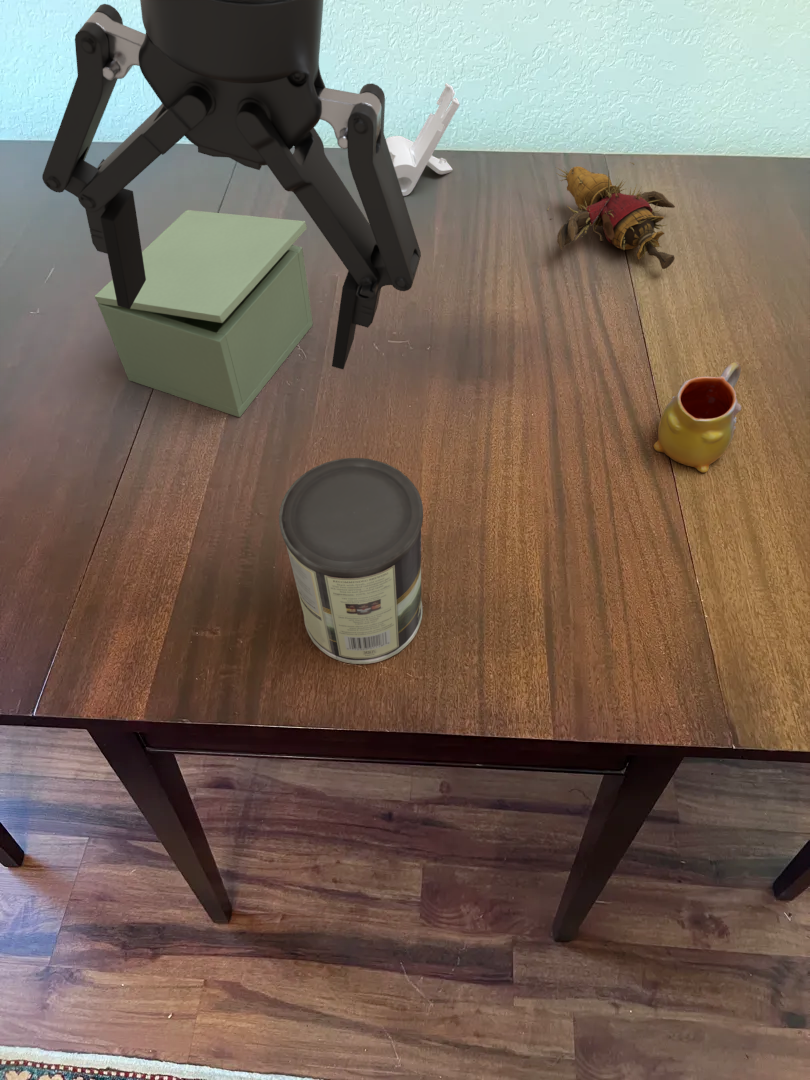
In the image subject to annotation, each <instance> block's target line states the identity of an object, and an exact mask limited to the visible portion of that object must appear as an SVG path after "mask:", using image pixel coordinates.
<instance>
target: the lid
mask: <svg viewBox="0 0 810 1080" xmlns="http://www.w3.org/2000/svg"><path fill="white" fill-rule="evenodd" d="M307 229H308V227H307V223H306V221H305V220H295V219H286V218H276V217H266V216H265V217H264V216H255V215H253V216H252V215H244V214H234V213H224V212H213V211H204V210H203V211H201V210H191V209H186V210H185V211H184V212H182V214H181V215H179V217H178V218H176V219H175V220H174V221H173V222H172V223H170V225H169V226H168V227H167V228H166V229H165V230H164V231H163V232H161V233H160V234H159V235H158V236H157V237H156V238H155V239H154V240H153V241H152V242H151V243H150V244H148V245H147V247H145V249H142V256H143V263H144V269H145V276H146V281H145V283H144V284H143V286H142V288H141V290H140V292H139V293H138V295H137V297H136V299H135V301H134V302H133V304H132V306H131V309H137V310H144V311H150V312H156V313H162V314H169V315H175V316H181V317H187V318H194V319H200V320H206V321H212V322H219V323H223V322H224V321H225V320H226V318H227V317H228V316H229V315H230V314H231V313H232V312H233V311H234V309H235V308H236V307H237V306H238V305H239V304H240V303H241V302H242V301H243V299H244V298H245V297H246V296H247V295H248V294H249V293H250V292H251V290H252V289H253V288H254V287H255V286H256V285H257V284H258V283H259V282H260V280H261V279H262V278H263V277H264V276H265V275H266V274H267V273H268V271H269V270H270V269H271V268H272V267H273V266H274V265H275V264H276V263H277V261H278V260H279V259H280V258H281V257H282V256H283V255H284V254H285V252H286V251H287V250H288V249H289V248H290V247H291V246H292V245H295V243H296V241H297V240H298V239H299V238H301V235H303V233H305V231H306V230H307ZM94 299H95V301H96V303H97V304H98V303H100V304H106V305H112V306H118V305H117V300H116V294H115V289H114V284H113V279H112V278H111V280H110V281H109V282H108V283H107V284H105V286H103V288H101V290H100V291H98V293H96V294H95V295H94ZM119 307H120V306H119Z"/></svg>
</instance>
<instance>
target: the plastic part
mask: <svg viewBox="0 0 810 1080" xmlns="http://www.w3.org/2000/svg"><path fill="white" fill-rule="evenodd" d="M444 86H445V87H444V88H443V91H442V92H441V94H440V95H439V98H438V99H437V101H436V103H435V104H436V105H438V107H437V109H436V111H435V112H434V114H433V113H431V112H430V114H429V115H428V117H427V119H426V120H425V122H424V124H423V126H422V128H421V129H420V131H419V133H418V134H417V137H416V138H415V140H414V141H412V140H410V139H408V138H407V137H404V136H402V135H393V136H388V137H387V138H386V137H385V139H386V142H387V145H388V149H389V152H390V155H391V158H392V162H393V165H394V168H395V171H396V175H397V178H398V181H399V184H400V187H401V191H402V194H403V197H406V196H408V195H410V194H411V193H412V192H413V190H414V189H415V187H416V185H417V184H418V182H419V180H420V178H421V176H422V174H423V173H424V170H425V168H426V167H429V168H430V169H431V170H432V171H433V172H434V173H436V174H438V175H446V174H449V173H451V172H453V168H452V167H451V165H450V164H449V162H448V161H447V159H446V158H443V157H440V158H438V157H435V156H434V155H433V154H434V152H435V150H436V149H437V147H438V145H439V143H440V141H441V139H442V138H443V136H444V134H445V132H446V130H447V128H448V127H449V125H450V124H451V121H452V120H453V118H454V116H455V114H456V112H457V110H458V108H459V107H460V102H459V99H458V98H457V97H454V96H455V95H456V92H455V90H454V88H453V86H452V85H451V84H449V83H447V82H445V84H444Z"/></svg>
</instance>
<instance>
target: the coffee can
mask: <svg viewBox="0 0 810 1080" xmlns="http://www.w3.org/2000/svg"><path fill="white" fill-rule="evenodd" d="M423 522H424V505H423V500H422V497H421V494H420V492H419V490H418V488H417V487H416V486H415V484H414V483H413V482H412V481H411V480H410V478H409V477H408V476H406V475H405V474H404V473H403V472H402V471H401V470H399V469H398V468H396V467H394V466H393V465H390V464H388V463H385V462H383V461H379V460H375V459H371V458H366V457H365V458H364V457H347V458H346V457H345V458H339V459H338V458H337V459H333V460H331V461H330V460H329V461H326V462H324V463H321V464H318V465H316V466H315V467H312V468H311V469H309V470H308V471H306V472H304V473H303V474H301V476H300V477H298V478H297V479H296V480H295V481H294V482H293V483H292V484H291V485H290V487H289V488H288V490H287V491H286V493H285V494H284V496H283V499H282V501H281V503H280V507H279V514H278V525H279V530H280V534H281V537H282V539H283V541H284V544H285V546H286V549H287V554H288V557H289V561H290V562H289V563H290V566H291V570H292V573H293V578H294V582H295V586H296V589H297V590H296V591H297V593H298V598H299V603H300V606H301V609H302V614H303V621H304V625H305V629H306V633H307V634H308V636H309V638H310V639H311V641H312V643H313V644H314V645H315V646H316V647H317V648H318V650H320V651H321V652H322V653H323V654H325V655H327V656H328V657H329V658H332V659H334V660H336V661H339V662H343V663H346V664H347V663H348V664H351V665H368V664H375V663H380V662H382V661H385V660H388V659H391V658H392V657H394V656H396V655H397V654H399V653H400V652H403V650H404V649H405V648H406V647H408V645H409V644H410V643H411V642H412V641H413V640H414V639H415V636H416V635H417V634H418V631H419V629H420V626H421V623H422V620H423V600H422V527H423Z"/></svg>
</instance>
